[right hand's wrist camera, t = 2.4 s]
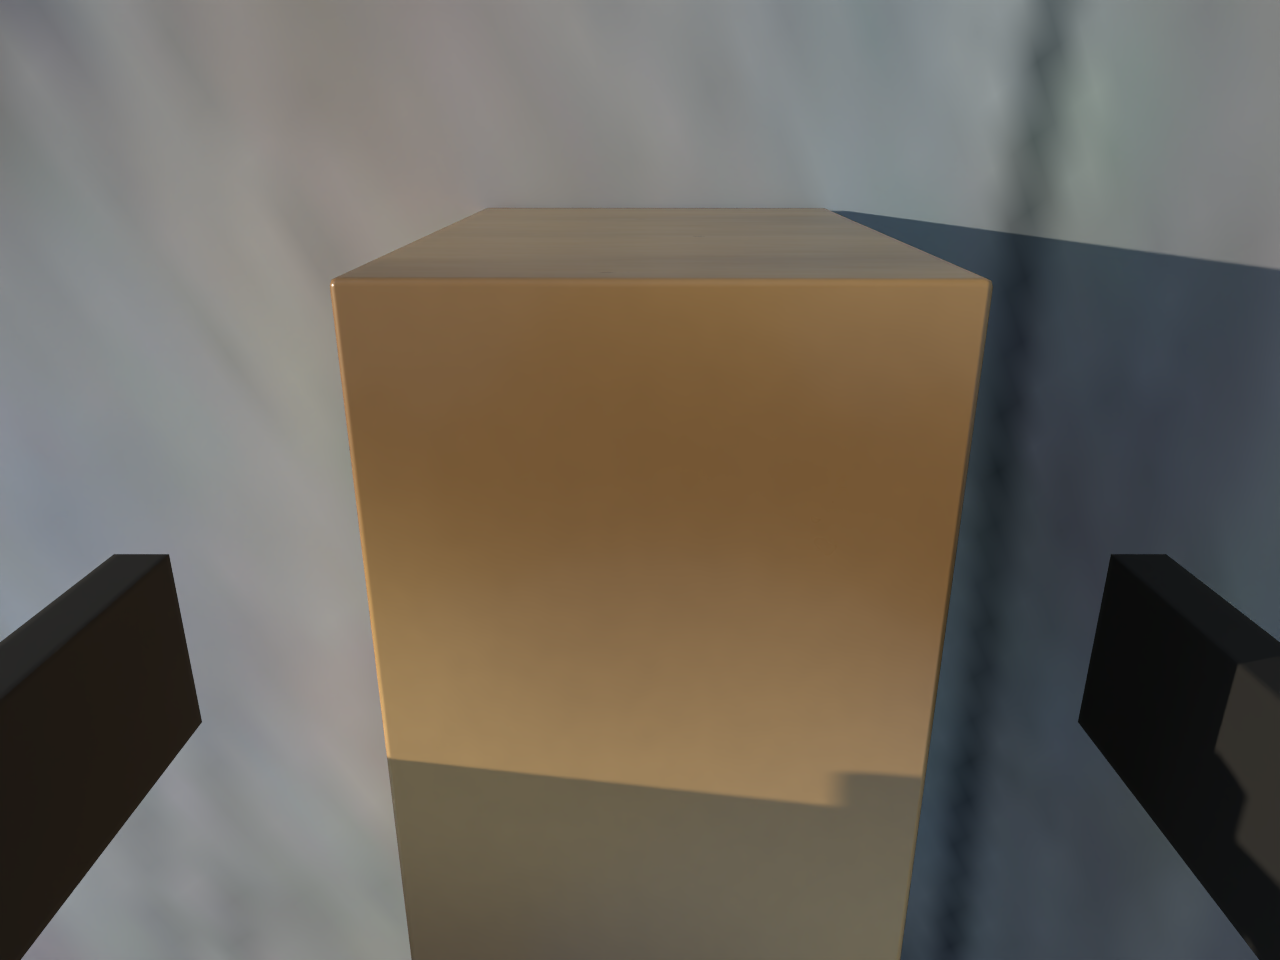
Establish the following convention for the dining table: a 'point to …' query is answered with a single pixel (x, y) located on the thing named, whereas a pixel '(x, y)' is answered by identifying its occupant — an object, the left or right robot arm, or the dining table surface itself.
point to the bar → (658, 572)
